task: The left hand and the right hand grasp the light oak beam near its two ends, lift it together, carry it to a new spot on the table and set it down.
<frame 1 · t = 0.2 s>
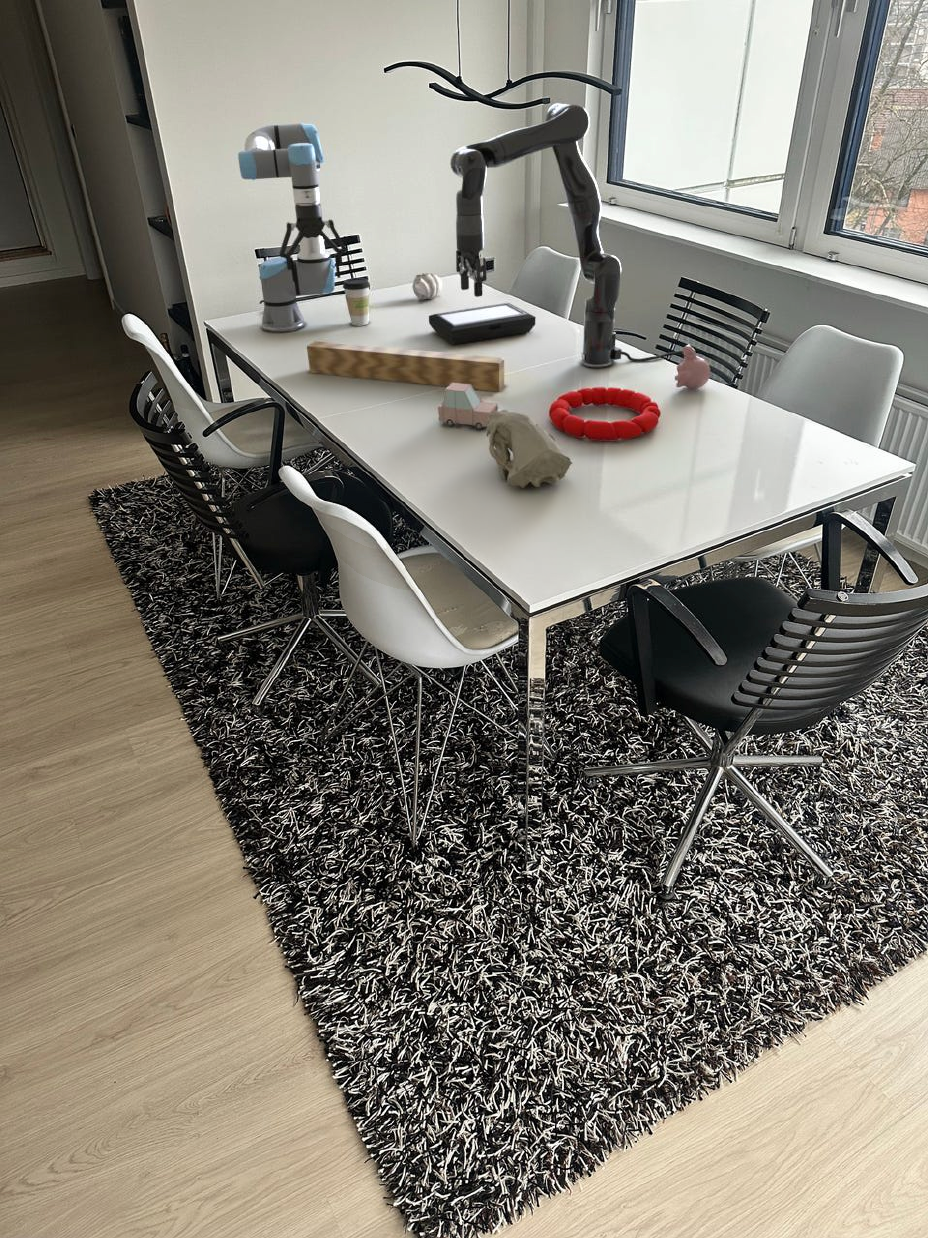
left hand: (316, 278, 273), 27 cm above the table, tool pointing down, fingers open, 13 cm apart
right hand: (471, 292, 251), 28 cm above the table, tool pointing down, fingers open, 8 cm apart
figurine: (690, 388, 263), on the table
decorative ring: (603, 422, 244), on the table
toy car: (468, 423, 246), on the table
electronic device: (481, 332, 314), on the table
beam: (404, 378, 277), on the table
coffee cup: (360, 323, 327), on the table
grey brown rock: (520, 470, 220), on the table
seashell: (428, 299, 351), on the table
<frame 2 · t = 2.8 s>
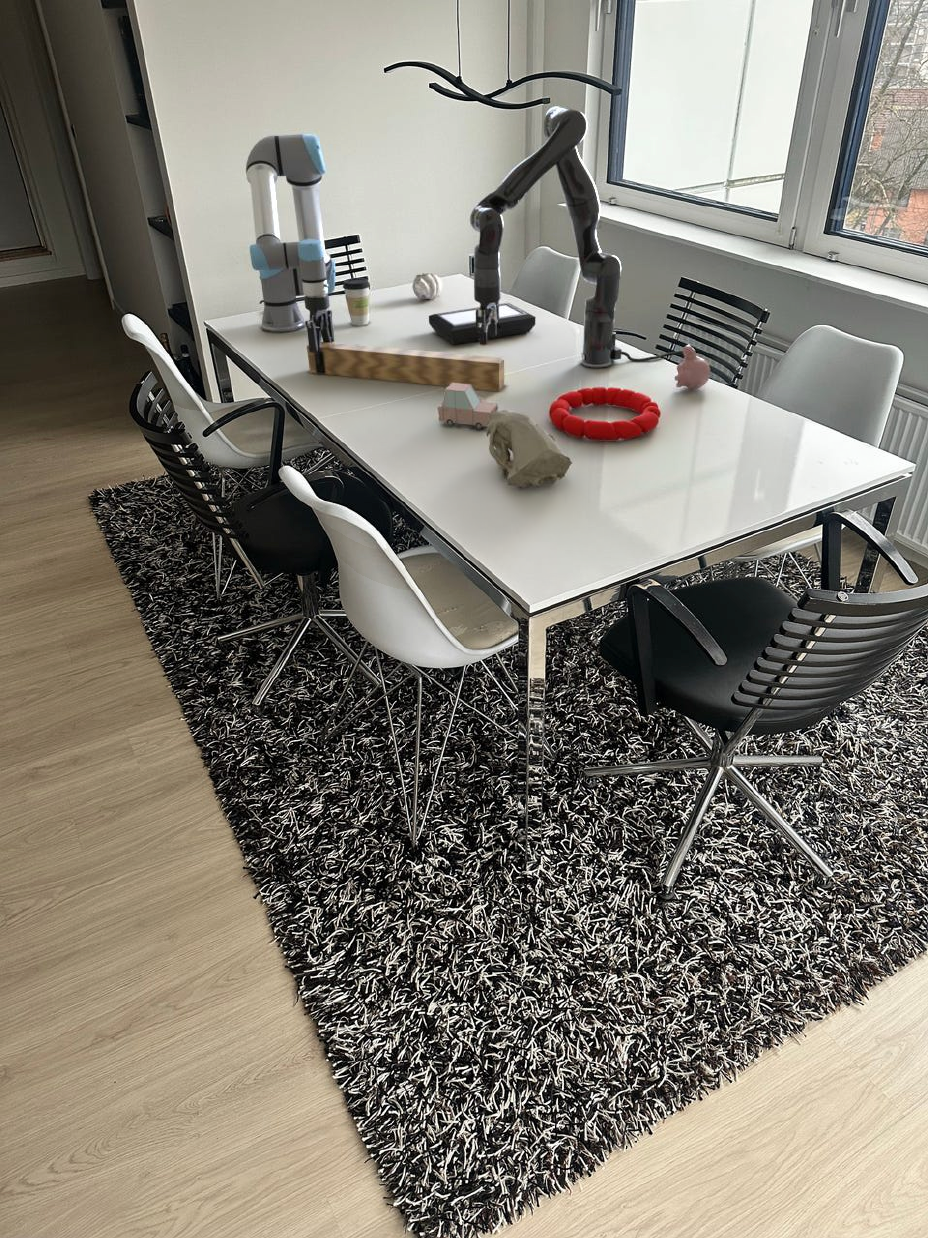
left hand: (325, 369, 285), 1 cm above the table, tool pointing down, fingers closed on beam, 5 cm apart
right hand: (488, 340, 261), 14 cm above the table, tool pointing down, fingers open, 8 cm apart
beam: (404, 378, 277), on the table, touching left hand
everything else where it was.
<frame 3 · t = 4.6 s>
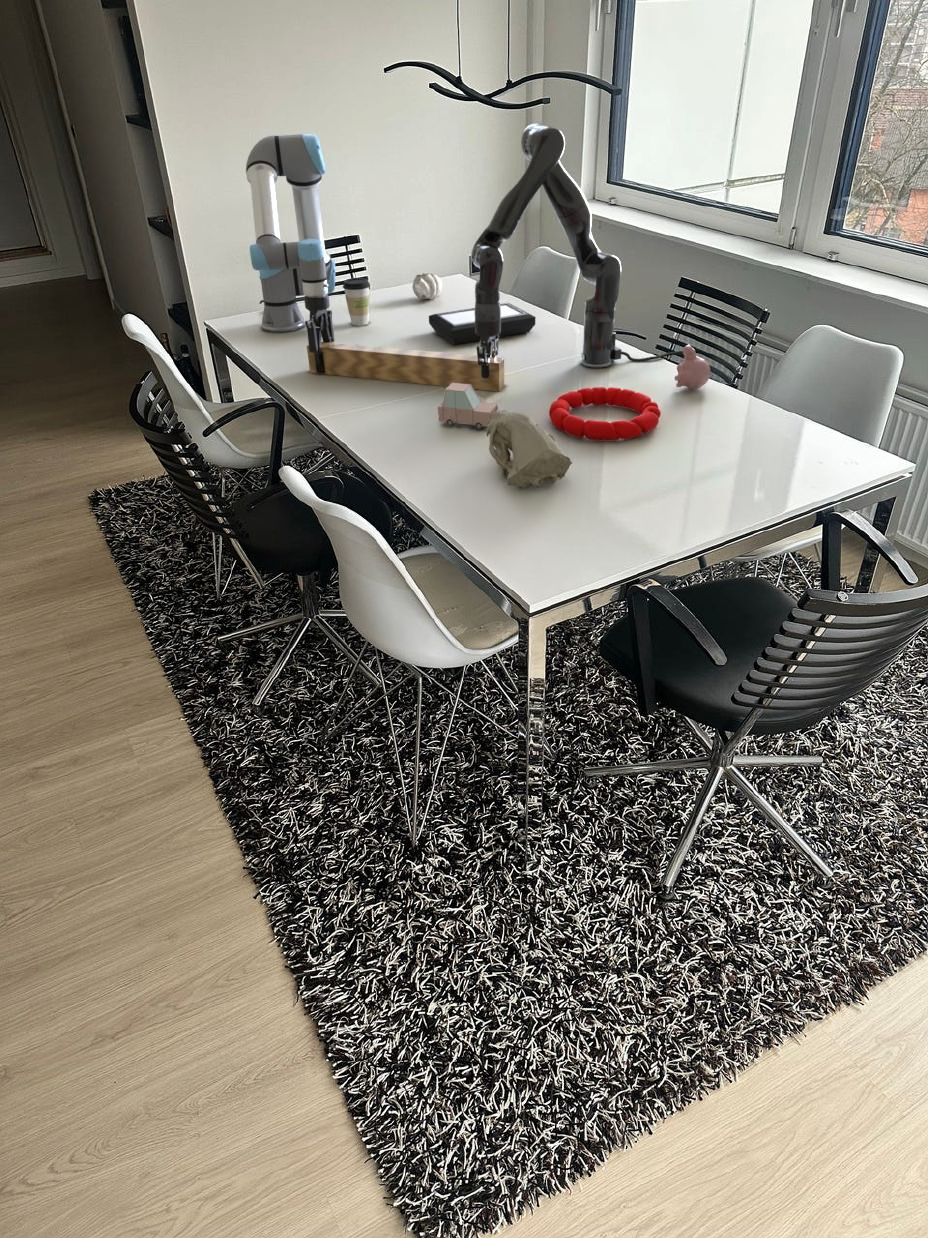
left hand: (325, 369, 285), 1 cm above the table, tool pointing down, fingers closed on beam, 5 cm apart
right hand: (488, 374, 266), 4 cm above the table, tool pointing down, fingers closed on beam, 5 cm apart
beam: (404, 378, 277), on the table, touching left hand, right hand
everything else where it was.
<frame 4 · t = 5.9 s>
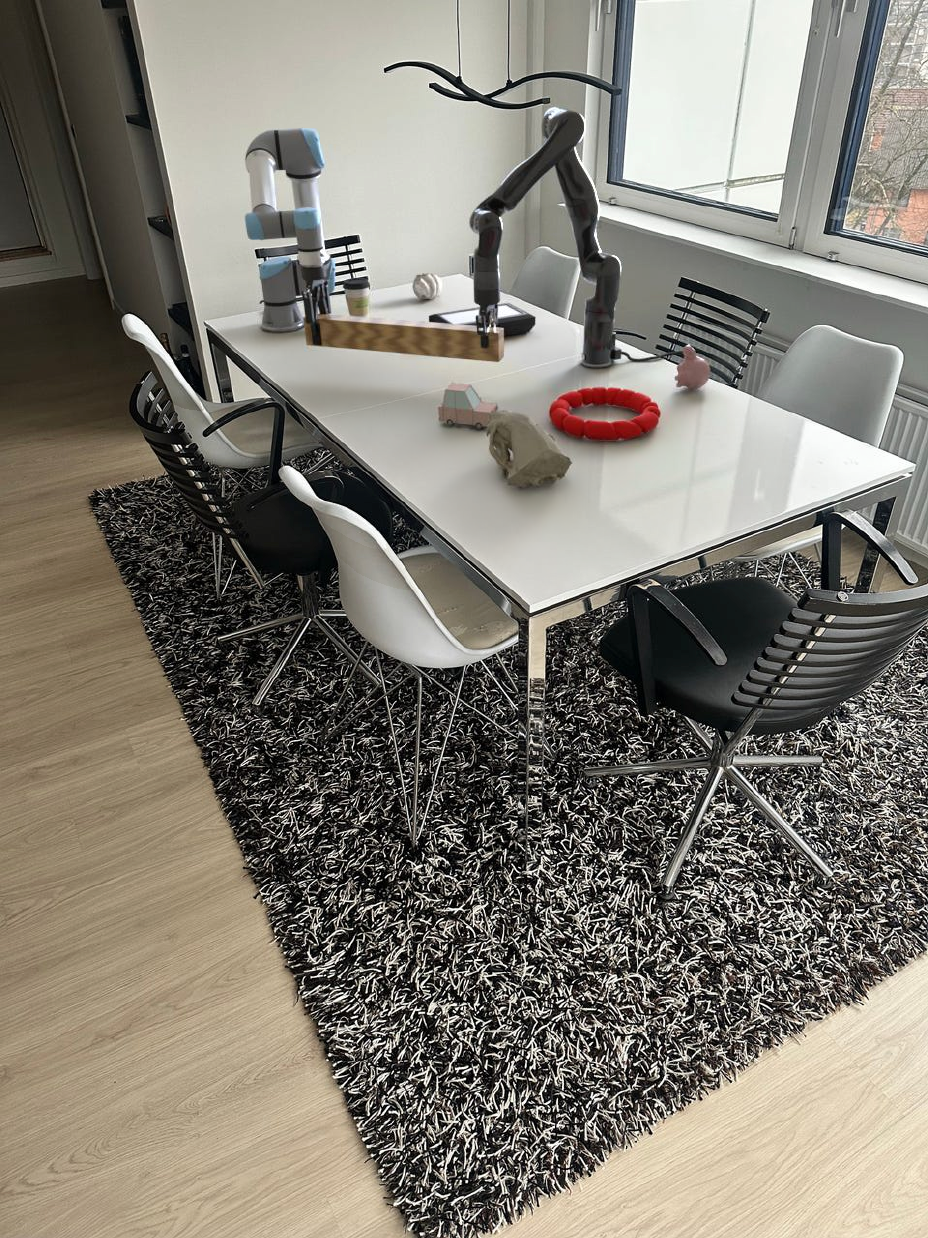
left hand: (321, 341, 280), 9 cm above the table, tool pointing down, fingers closed on beam, 5 cm apart
right hand: (487, 344, 262), 13 cm above the table, tool pointing down, fingers closed on beam, 5 cm apart
beam: (402, 350, 272), point 9 cm above the table, touching left hand, right hand
everything else where it was.
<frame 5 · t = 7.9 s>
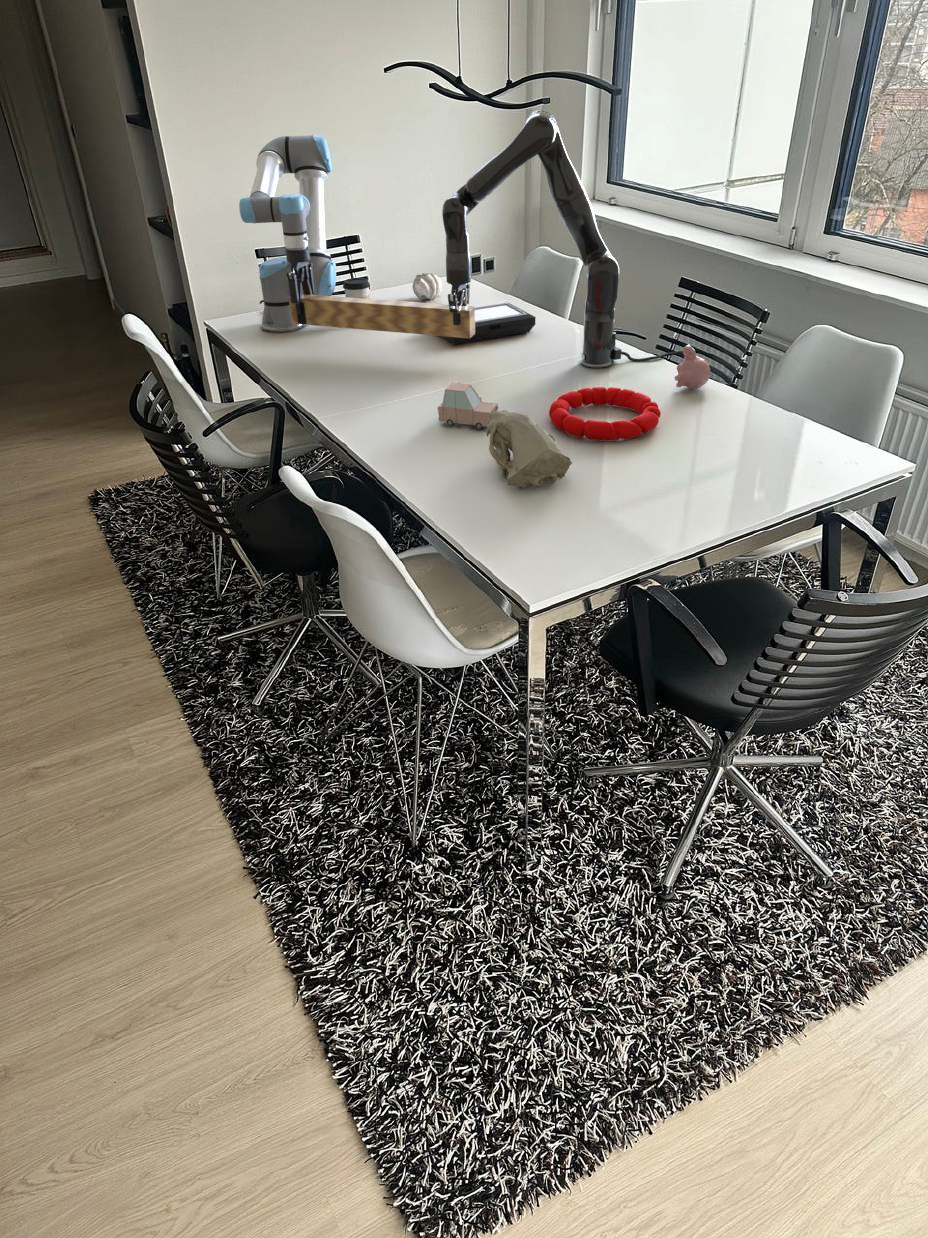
left hand: (306, 320, 299), 9 cm above the table, tool pointing down, fingers closed on beam, 5 cm apart
right hand: (460, 322, 281), 13 cm above the table, tool pointing down, fingers closed on beam, 5 cm apart
beam: (381, 328, 292), point 9 cm above the table, touching left hand, right hand
everything else where it was.
when the left hand's fingers open (2 cm above the table, at t = 9.3 s): beam drops 1 cm, on the table.
when the right hand's fingers open (5 cm above the table, at t = 9.5 s): beam stays where it is, on the table.
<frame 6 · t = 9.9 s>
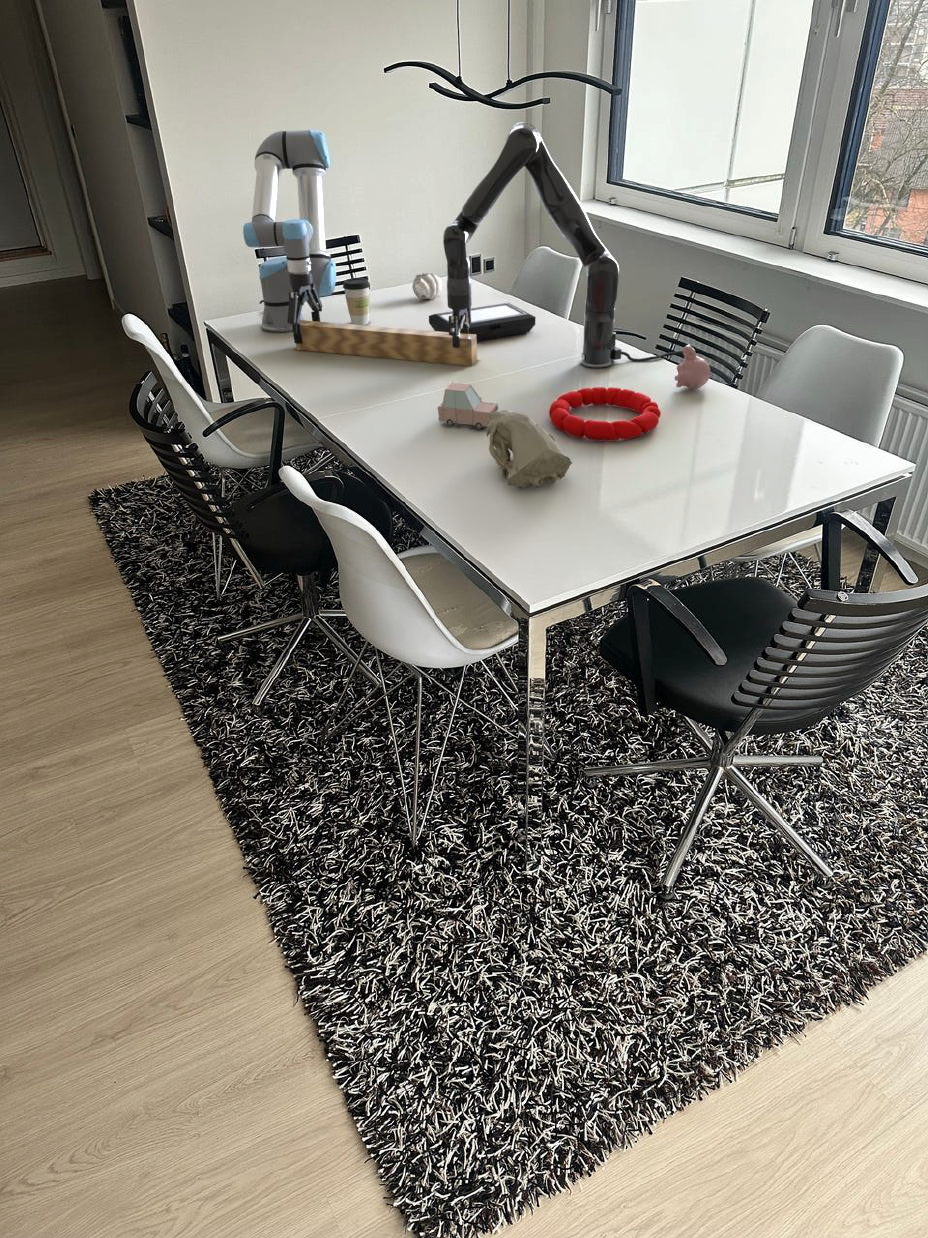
left hand: (308, 337, 302), 4 cm above the table, tool pointing down, fingers open, 13 cm apart
right hand: (460, 343, 285), 6 cm above the table, tool pointing down, fingers open, 8 cm apart
beam: (384, 355, 296), on the table
everything else where it was.
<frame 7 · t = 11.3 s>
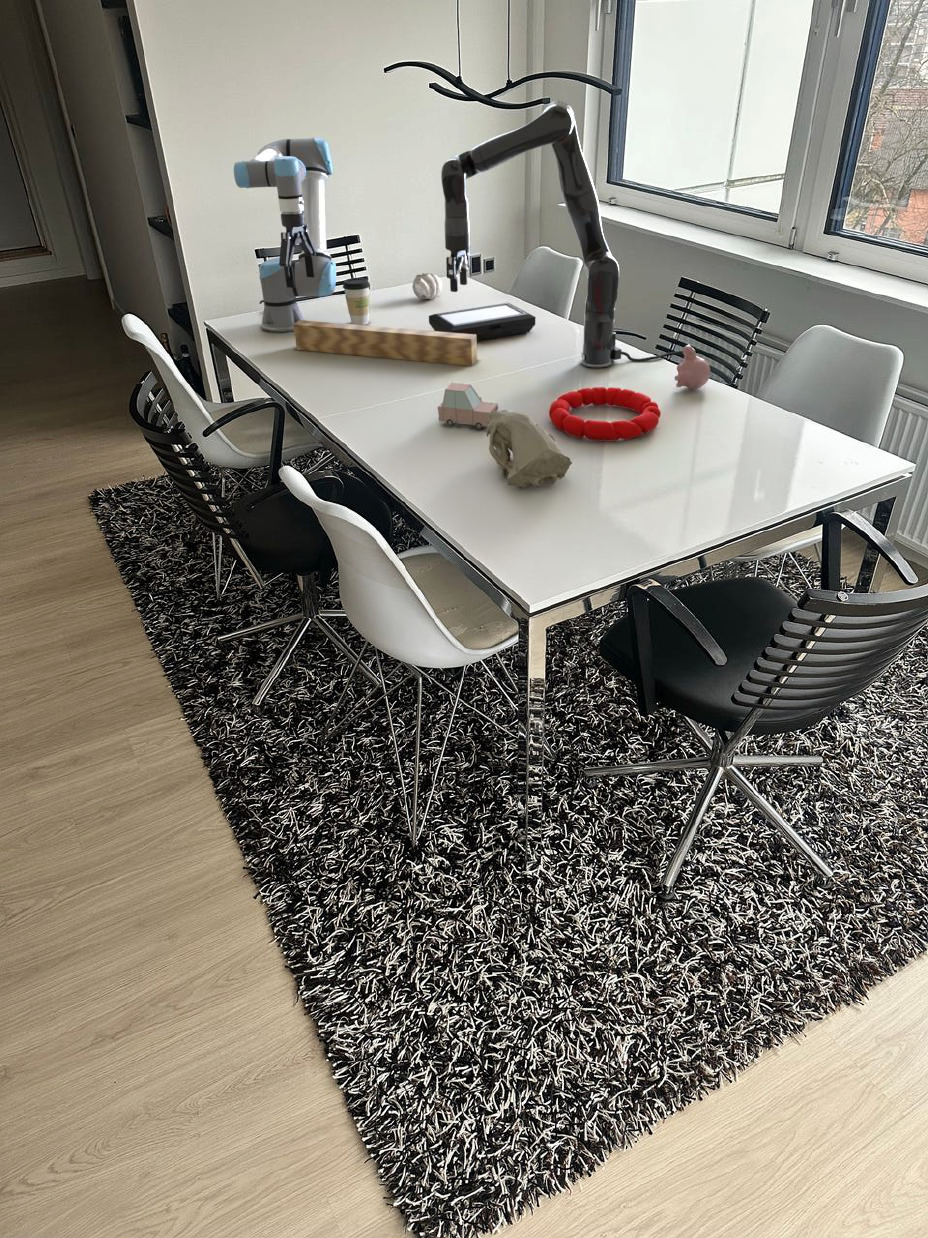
left hand: (301, 282, 292), 22 cm above the table, tool pointing down, fingers open, 13 cm apart
right hand: (459, 287, 275), 23 cm above the table, tool pointing down, fingers open, 8 cm apart
nothing on the table moved.
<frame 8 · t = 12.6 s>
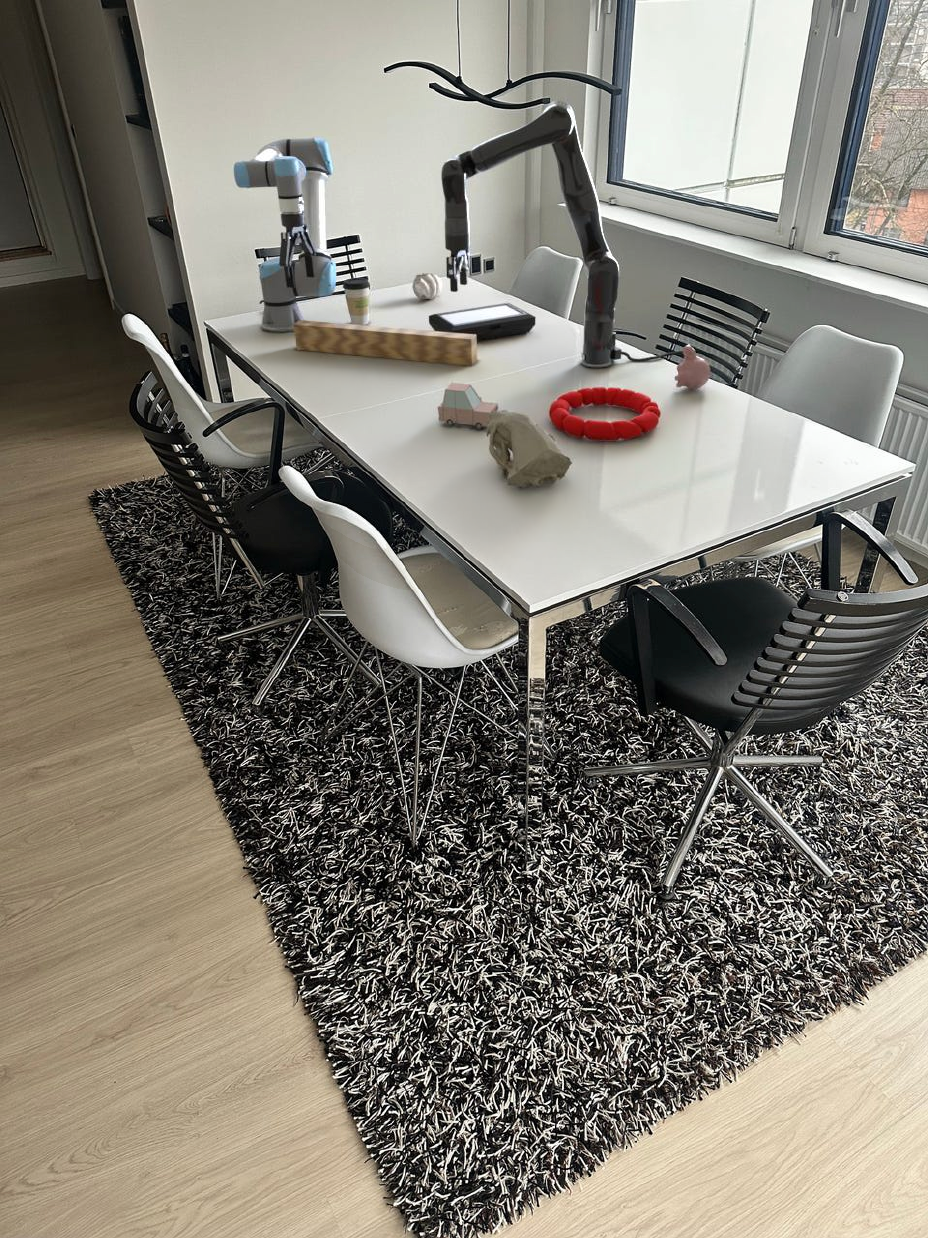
left hand: (301, 282, 292), 22 cm above the table, tool pointing down, fingers open, 13 cm apart
right hand: (459, 287, 275), 23 cm above the table, tool pointing down, fingers open, 8 cm apart
nothing on the table moved.
at the end: beam inside the target area (0.4 cm from its centre), on the table; beam tilted 0°; beam never tilted more than 1° during the clip; both hands held the beam at the same time; the left hand is holding nothing; the right hand is holding nothing; beam at rest at the end (0.0 cm/s) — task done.
